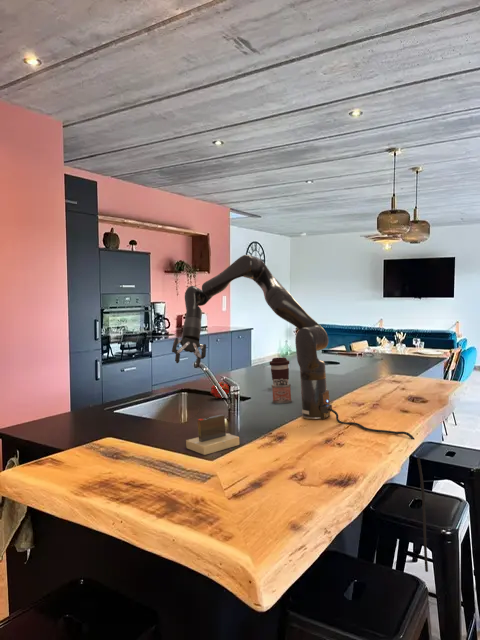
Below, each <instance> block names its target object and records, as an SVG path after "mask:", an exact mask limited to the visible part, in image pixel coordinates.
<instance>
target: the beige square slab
mask: <svg viewBox="0 0 480 640" xmlns="http://www.w3.org/2000/svg"><path fill="white" fill-rule="evenodd" d="M185 442H186V443H185V445H186V446H185V447H186V449H188V450H189V451H193V452H196V453H198V454H200V455H203V456H207V455H209V454H213V453H217V452H219V451H223V450H227V449H231V448H234V447H237V446H240V437H239V436H238V435H235V434H231V433H230V432H229V433H227V432H226V436H223V437H219V438H215V439H212V440H208V441H204V442H200V441H199V436H198V437H197V436H196V437H193V438H189V439H185Z"/></svg>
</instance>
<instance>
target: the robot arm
mask: <svg viewBox="0 0 480 640" xmlns="http://www.w3.org/2000/svg"><path fill="white" fill-rule="evenodd" d="M239 278H245V279H246V278H247V279H250V280H252V281H254V283H256V284H257V285H258V287H259V288H260V289H261V290H262V293H263V296H264V300H265V302H266V304H267V305H268V307H269V308H270V309H271V310H272V311H273V313H274V314H275V315H277V316H278V317H279V318H281V319H282V320H284V321H286V322H287V323H289V324H291V325H292V326H294V327H295V328H297V332H296V334H295V337H294V339H295V340H294V341H295V353H296V361H297V364H298V367H299V373H300V375H299V376H300V392H301V393H300V394H301V407H302V408H301V413H302V418H303V419H306V420H325V419H327V418H328V417H330V416H331V412H332V413H333V414H334V415H335V420H336V422H337V423H339V424H342V425H349V426H351V425H353V426H357V427H359V428H361V429H363V430H365V431H368V432H373V433H384V434H393V435H407V436H408V437H409V438H410V439H411V440H415V437H414V436H413V435H412V434H411V433H410V432H408V431H395V430H385V429H376V428H375V429H374V428H369V427H366V426H363V425H362V424H360V423H358V422H354V421H346V422H345V421H341V420H340V418H339V413H338V412H337V411H335V410H334V409H333V404H331V403H330V391H329V389H327V374H326V363H325V361H323V360H320V359H319V357H318V351H319V352H320V351H322V350H325V349H326V348H327V347H328V345H329V335H328V333H327V331H326V330H325V329H324V328H323V326H322V325H320V324H319V322H317V321H316V320H315V319H314V318H312V316H310V314H308V313H307V312H306V311H305V309H304V308H303V307H302V306H301V304H300V303H298V301H296V300H295V298H294V297H293V295H292V294H291V293H290V292H289V291H288V290H287V288H285V287H284V286H283V285H282V283H280V281H279V280H278V279H276V277H275V276H274V275H273V274H272V272H271V271H270V270H269V268H268V266H267V265H266V263H265V262H264V261H263V260H262V259H261V258H259V257H257V256H254V255H252V254H251V255H250V254H244V255H241V256H240V257H238V258H237V259H235V261H233V262H232V263H231V264H230V265H229V266H227V267H226V268H225V269H223V270H222V271H221V272H220V273H219V274H217V275H216V276H214V277H212V278H210V279H208V280H206V281H205V282H203V283H202V285H201V288H199V287H197V286H196V285H190V286H188V287H187V288H186V290H185V292H184V304H185V318H184V322H183V326H182V328H183V329H182V336H181V339H180V338H178V337H175V339H174V340H173V344H172V348H171V353H174V354H175V358H174V361H175V364H179V363H180V360H181V359H180V357H181V353H182V352H183V351H184V352H188V353H191V354H192V353H193V355H194V356H195V357H196V360H195V368H198V367H200V365H201V361H202V360H204V359H205V358H206V355H207V344H205V343H203V344H201V343H200V341H201V332H202V331H201V330H202V317H203V309H202V307H203V306H205V305H206V304H207V303H208V302H209V301H210V300H211V299H212V298H213V297H214V296H217V295H218V294H220V293H222V292H223V291H225V290H226V289H227V288H228V286H229V285H230V284H231V282H233V281H234V280H237V279H239ZM179 344H180V346H181V347H180V348H179V349H177V347H178V345H179ZM199 348H200V349H199ZM200 350H201V352H200ZM416 461H417V466H418V473H419V480H420V481H419V482H420V491H421V492H420V493H421V506H422V508H421V509H422V531H423V532H422V533H423V534H422V535H423V556H424V557H423V558H424V559H423V560H424V570H425V573H429V563H428V547H427V546H428V545H427V517H426V515H427V513H426V497H425V495H426V494H425V484H424V476H423V470H422V469H423V468H422V463H421V458H420V457H418V458H417V459H416Z"/></svg>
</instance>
